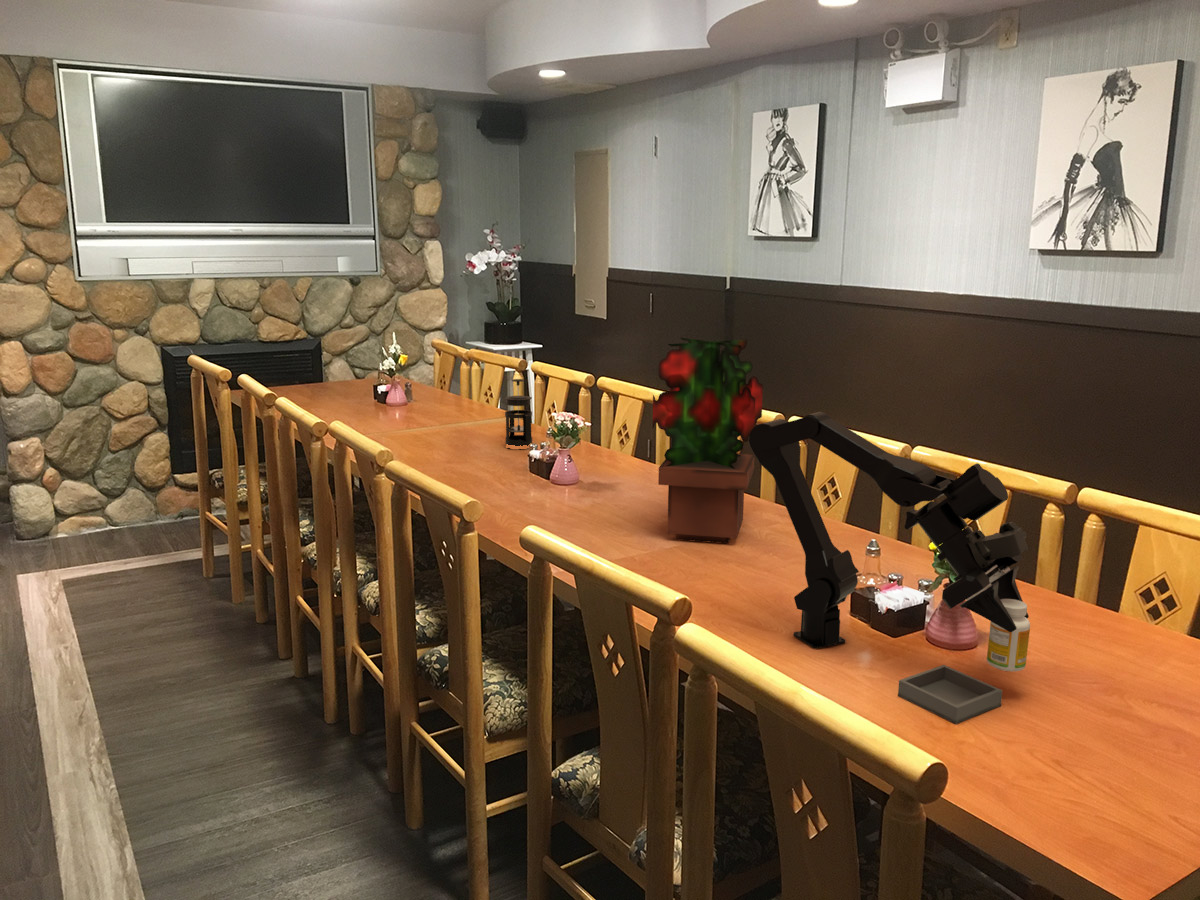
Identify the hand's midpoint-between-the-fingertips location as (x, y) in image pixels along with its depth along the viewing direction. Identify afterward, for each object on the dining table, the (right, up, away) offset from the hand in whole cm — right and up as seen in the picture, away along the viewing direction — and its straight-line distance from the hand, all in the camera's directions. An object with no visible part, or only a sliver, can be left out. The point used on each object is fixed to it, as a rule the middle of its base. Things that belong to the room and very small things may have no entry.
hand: (1020, 624), depth 138 cm
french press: (-89, +26, +179) cm, 201 cm away
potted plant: (-37, +6, +82) cm, 90 cm away
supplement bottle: (-1, -7, +2) cm, 7 cm away
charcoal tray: (-10, -11, +1) cm, 15 cm away
